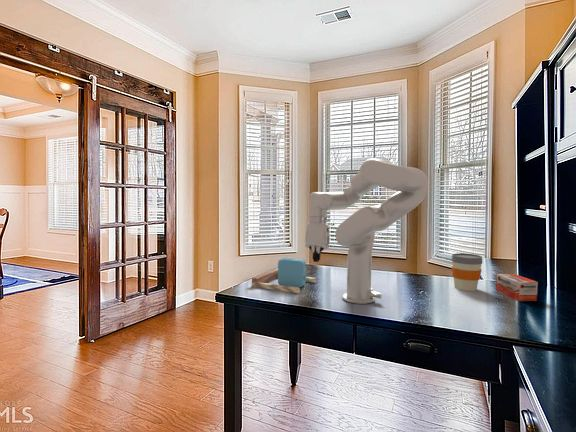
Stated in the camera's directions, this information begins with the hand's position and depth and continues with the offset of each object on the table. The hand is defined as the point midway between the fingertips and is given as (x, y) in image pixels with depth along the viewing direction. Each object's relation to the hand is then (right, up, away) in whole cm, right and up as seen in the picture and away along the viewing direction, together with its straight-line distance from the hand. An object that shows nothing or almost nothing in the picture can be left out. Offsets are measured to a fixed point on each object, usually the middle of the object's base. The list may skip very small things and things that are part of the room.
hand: (316, 261), depth 159 cm
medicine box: (+84, -14, -7) cm, 85 cm away
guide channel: (-14, -12, +7) cm, 20 cm away
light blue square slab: (-11, -12, +6) cm, 17 cm away
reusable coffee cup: (+68, -13, +3) cm, 69 cm away
